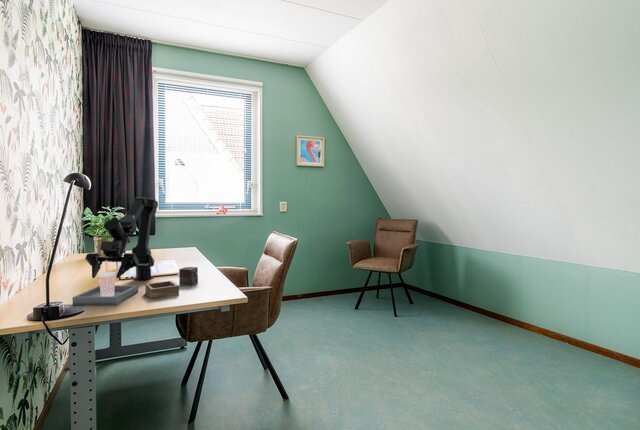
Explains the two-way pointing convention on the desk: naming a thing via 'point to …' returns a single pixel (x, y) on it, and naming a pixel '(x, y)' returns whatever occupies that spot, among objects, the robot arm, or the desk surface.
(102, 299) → the charcoal tray
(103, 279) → the beverage cup
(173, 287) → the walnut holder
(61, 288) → the desk surface
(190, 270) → the box
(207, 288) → the desk surface
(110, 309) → the desk surface
